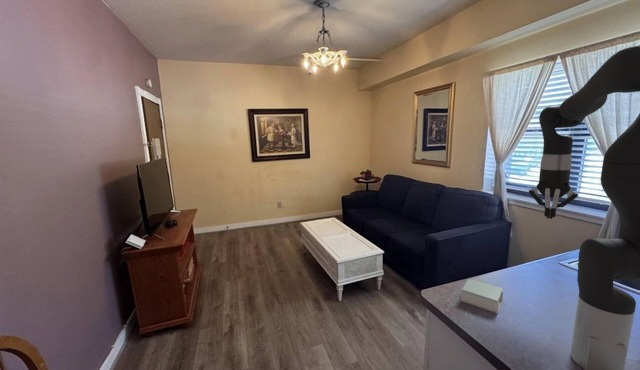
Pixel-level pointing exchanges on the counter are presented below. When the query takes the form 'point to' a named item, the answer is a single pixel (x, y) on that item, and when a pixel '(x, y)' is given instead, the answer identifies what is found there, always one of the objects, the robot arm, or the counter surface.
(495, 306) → the cream card holder
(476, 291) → the cover
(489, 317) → the counter surface
